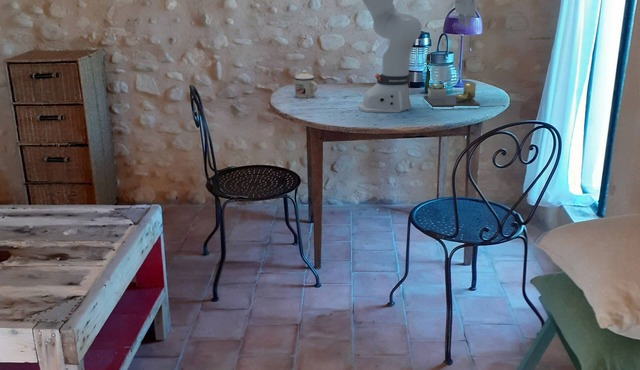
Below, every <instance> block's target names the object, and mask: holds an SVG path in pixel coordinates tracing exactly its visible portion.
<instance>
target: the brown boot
mask: <svg viewBox="0 0 640 370" xmlns="http://www.w3.org/2000/svg"><path fill="white" fill-rule="evenodd" d="M476 86H477V83H476V82H473V81H471V82H470V81H466V82H464V83H463V90H462V91H463V93H457V94H455V95H456V100H460V101H465V100H467V98H473V99H476V89H477V88H476Z"/></svg>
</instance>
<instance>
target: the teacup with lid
mask: <svg viewBox="0 0 640 370" xmlns="http://www.w3.org/2000/svg"><path fill="white" fill-rule="evenodd" d="M301 71H302V72H300V73H299V74H297V75H295V76H294V93H295V97H296V98H298V99H311V98H313V97H315V93H316V92H317V90H318V89H317V88H318V85H317V83H316V82H315V76H314V75H312V74H310V73H308V71H307V70H301Z"/></svg>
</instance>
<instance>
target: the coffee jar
mask: <svg viewBox="0 0 640 370" xmlns="http://www.w3.org/2000/svg"><path fill="white" fill-rule="evenodd" d="M431 53H432V52H429V53H428V54H427V55H426V62H425V63H426V73H425V82H424V92H425V91H428V87H429V80H430V71H429V69H428V67H427V65H428V64H429V63H430V55H431Z"/></svg>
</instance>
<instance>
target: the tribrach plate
mask: <svg viewBox="0 0 640 370" xmlns="http://www.w3.org/2000/svg"><path fill="white" fill-rule="evenodd" d="M447 90H448V89H447V88H446V87H445V88H444V85H443V84H431V87H428V93H427V95H423V98H424V99H425V100H426V101H427V102H428V103H429V104H430V105H431V106H432V107H454V106H480V107H481V104H480V102H478V101H477V100H475V98H467V100H465V101H460V100H456V95H457V94H450V95H449V94H447Z"/></svg>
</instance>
